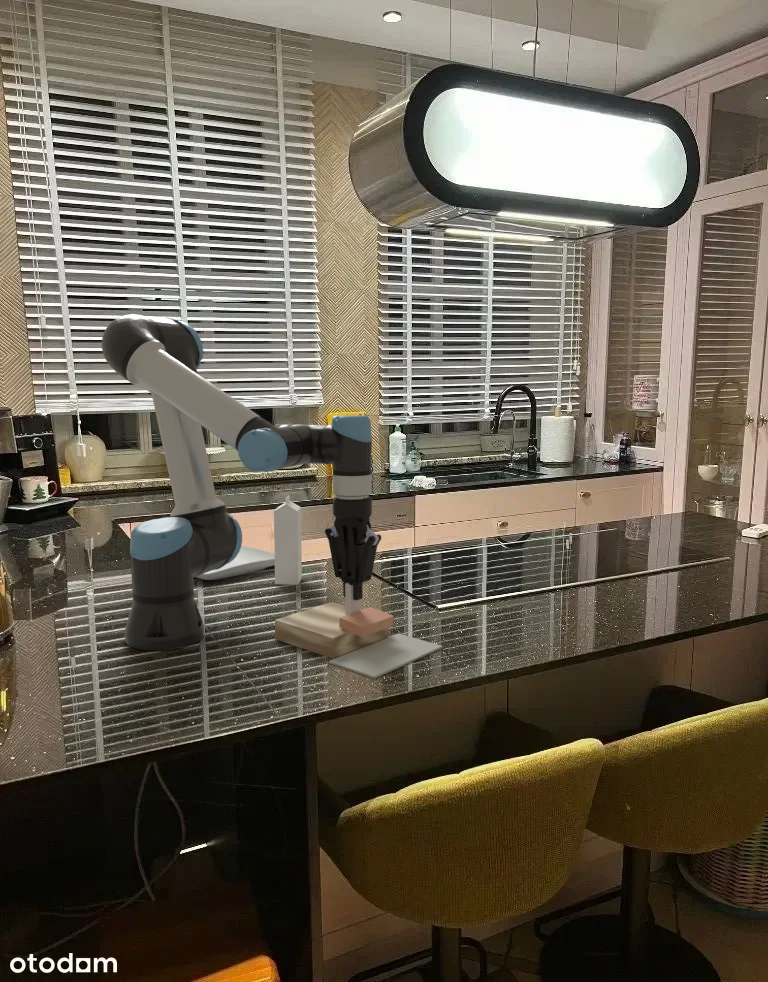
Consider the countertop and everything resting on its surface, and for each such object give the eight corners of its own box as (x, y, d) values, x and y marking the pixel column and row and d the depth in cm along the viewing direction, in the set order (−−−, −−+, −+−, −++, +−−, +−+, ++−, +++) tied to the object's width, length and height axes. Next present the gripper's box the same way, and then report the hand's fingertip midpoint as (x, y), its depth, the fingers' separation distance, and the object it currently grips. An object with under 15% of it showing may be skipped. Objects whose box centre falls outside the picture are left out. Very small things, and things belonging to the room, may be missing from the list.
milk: (275, 584, 189) (272, 498, 186) (279, 578, 195) (277, 494, 192) (299, 584, 189) (297, 498, 186) (302, 578, 195) (300, 494, 192)
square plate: (289, 568, 207) (288, 554, 207) (205, 588, 187) (205, 573, 186) (229, 552, 225) (228, 540, 225) (147, 569, 205) (146, 555, 204)
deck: (332, 658, 139) (332, 637, 139) (275, 639, 150) (274, 619, 149) (388, 636, 151) (388, 617, 151) (331, 620, 162) (331, 602, 161)
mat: (374, 678, 130) (374, 676, 130) (329, 663, 137) (329, 660, 137) (442, 647, 145) (442, 645, 145) (398, 635, 152) (398, 633, 152)
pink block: (362, 637, 140) (363, 627, 140) (339, 627, 144) (339, 617, 143) (392, 625, 147) (393, 615, 147) (370, 616, 151) (370, 606, 150)
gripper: (390, 497, 143) (390, 616, 146) (341, 490, 151) (341, 604, 155) (364, 501, 137) (364, 626, 141) (314, 494, 145) (315, 612, 149)
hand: (352, 614), depth 148 cm, fingers closed
